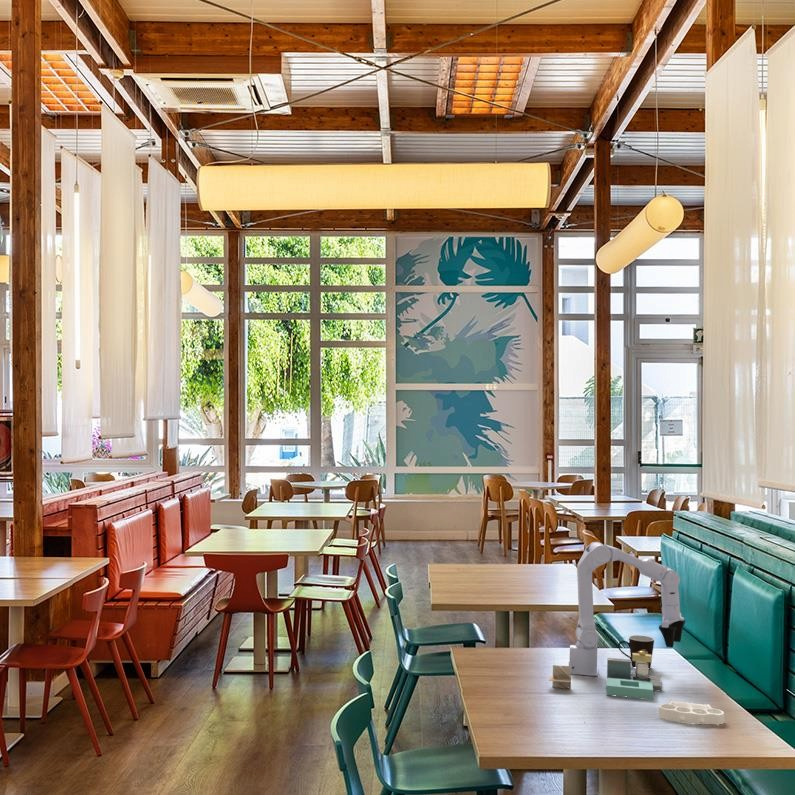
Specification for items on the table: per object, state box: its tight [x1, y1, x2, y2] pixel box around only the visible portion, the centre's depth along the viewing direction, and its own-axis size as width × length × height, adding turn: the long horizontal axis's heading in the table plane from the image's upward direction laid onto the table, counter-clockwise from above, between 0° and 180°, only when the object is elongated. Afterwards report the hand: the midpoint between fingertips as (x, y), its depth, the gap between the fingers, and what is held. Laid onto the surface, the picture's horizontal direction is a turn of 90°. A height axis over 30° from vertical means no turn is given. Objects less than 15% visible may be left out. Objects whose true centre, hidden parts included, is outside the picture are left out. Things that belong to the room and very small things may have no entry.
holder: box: [606, 677, 654, 700], centre depth 281 cm, size 14×9×3 cm, turn 76°
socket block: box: [606, 657, 663, 692], centre depth 292 cm, size 17×12×7 cm
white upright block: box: [634, 661, 649, 681], centre depth 292 cm, size 4×4×7 cm
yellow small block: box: [632, 651, 653, 664], centre depth 292 cm, size 6×2×3 cm, turn 76°
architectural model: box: [548, 664, 572, 690], centre depth 284 cm, size 3×7×7 cm, turn 83°
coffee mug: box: [617, 634, 655, 669], centre depth 313 cm, size 12×9×10 cm
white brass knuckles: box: [658, 700, 725, 725], centre depth 259 cm, size 3×18×15 cm
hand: (673, 644), depth 304 cm, fingers open, 7 cm apart
